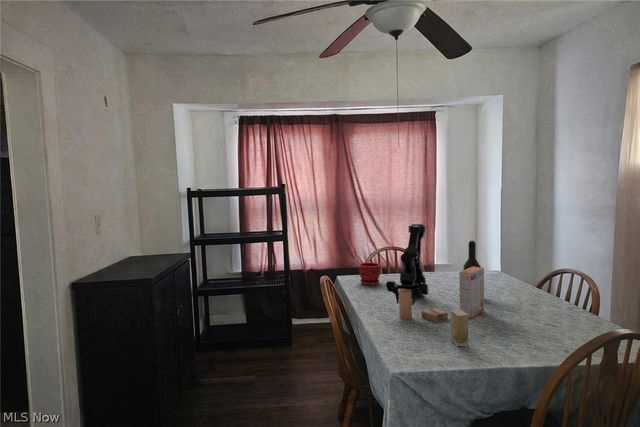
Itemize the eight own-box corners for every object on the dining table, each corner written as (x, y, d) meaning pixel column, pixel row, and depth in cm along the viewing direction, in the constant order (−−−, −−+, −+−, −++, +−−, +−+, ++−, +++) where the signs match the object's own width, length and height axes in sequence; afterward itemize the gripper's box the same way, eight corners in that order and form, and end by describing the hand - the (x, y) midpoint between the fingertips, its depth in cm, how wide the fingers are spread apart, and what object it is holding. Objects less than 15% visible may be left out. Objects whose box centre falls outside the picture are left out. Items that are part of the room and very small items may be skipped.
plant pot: (382, 285, 226) (382, 266, 225) (360, 286, 227) (359, 266, 226) (379, 280, 239) (378, 261, 238) (358, 280, 240) (358, 262, 239)
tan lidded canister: (405, 314, 177) (405, 287, 176) (414, 318, 172) (414, 290, 171) (396, 317, 174) (396, 289, 173) (405, 320, 169) (405, 292, 168)
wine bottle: (480, 295, 202) (481, 240, 199) (480, 300, 194) (480, 242, 192) (464, 294, 205) (464, 239, 203) (462, 298, 198) (462, 241, 195)
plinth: (433, 313, 177) (433, 307, 176) (447, 318, 170) (447, 312, 169) (421, 317, 172) (421, 310, 172) (435, 322, 166) (435, 315, 165)
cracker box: (472, 308, 182) (472, 265, 180) (484, 311, 178) (485, 267, 176) (458, 316, 172) (458, 271, 171) (471, 319, 168) (472, 273, 166)
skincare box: (450, 340, 147) (450, 309, 146) (461, 339, 147) (461, 309, 146) (457, 347, 140) (457, 315, 140) (468, 346, 141) (469, 314, 140)
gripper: (386, 264, 178) (381, 293, 169) (427, 266, 171) (424, 297, 162) (390, 276, 186) (385, 305, 177) (429, 279, 179) (426, 309, 170)
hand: (404, 304), depth 171 cm, fingers open, 6 cm apart
